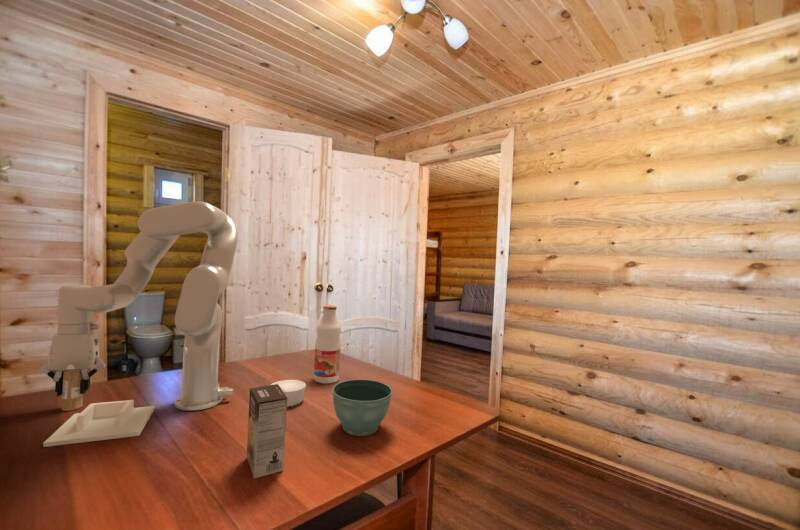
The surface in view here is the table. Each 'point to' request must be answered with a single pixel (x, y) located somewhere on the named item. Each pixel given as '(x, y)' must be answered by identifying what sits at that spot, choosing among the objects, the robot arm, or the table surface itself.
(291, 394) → the ramekin
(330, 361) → the fruit juice
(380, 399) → the flower pot
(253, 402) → the coffee box
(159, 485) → the table surface
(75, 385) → the sprinkles bottle
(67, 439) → the u rest
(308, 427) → the table surface
